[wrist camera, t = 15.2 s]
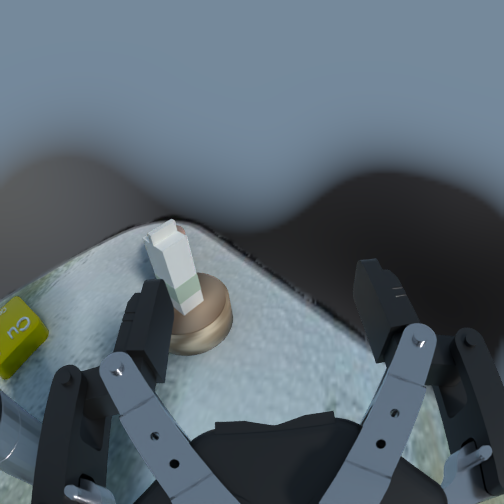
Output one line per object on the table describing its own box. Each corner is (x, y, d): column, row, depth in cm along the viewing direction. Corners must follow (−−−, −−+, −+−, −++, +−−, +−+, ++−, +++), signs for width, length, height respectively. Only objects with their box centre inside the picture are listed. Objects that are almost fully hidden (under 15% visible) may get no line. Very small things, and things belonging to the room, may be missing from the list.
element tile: (25, 306, 55) (15, 291, 53) (53, 334, 49) (41, 318, 46) (-16, 347, 45) (-28, 333, 43) (6, 384, 39) (-9, 369, 36)
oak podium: (145, 356, 45) (134, 337, 42) (158, 294, 56) (150, 274, 53) (233, 353, 45) (228, 333, 42) (232, 288, 56) (229, 267, 53)
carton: (184, 315, 45) (159, 241, 36) (164, 300, 48) (138, 228, 39) (204, 300, 47) (184, 225, 39) (183, 286, 50) (162, 214, 41)
